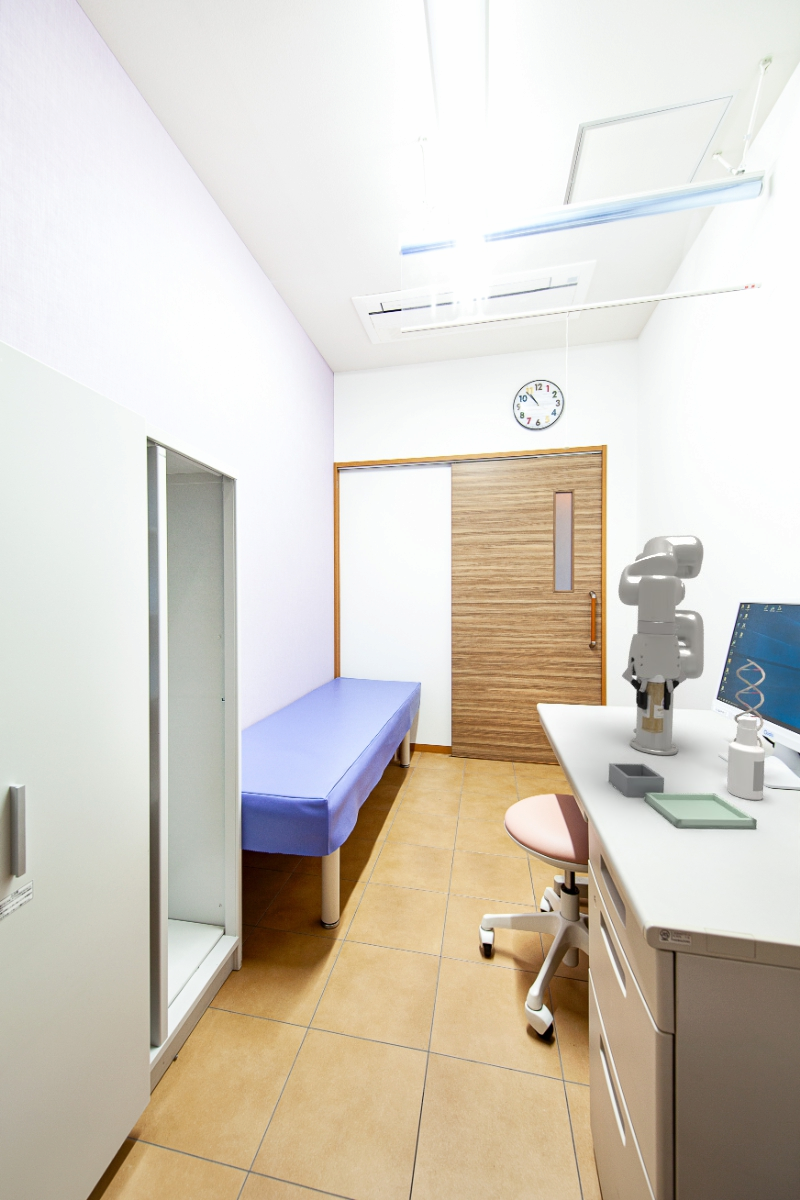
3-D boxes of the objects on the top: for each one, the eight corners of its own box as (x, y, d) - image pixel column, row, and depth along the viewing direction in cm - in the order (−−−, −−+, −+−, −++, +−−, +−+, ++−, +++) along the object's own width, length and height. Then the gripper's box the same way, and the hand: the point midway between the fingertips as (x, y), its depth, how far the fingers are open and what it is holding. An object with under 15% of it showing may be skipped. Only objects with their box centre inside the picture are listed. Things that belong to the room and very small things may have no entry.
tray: (644, 800, 105) (644, 792, 105) (714, 801, 105) (714, 793, 105) (677, 828, 93) (677, 819, 93) (756, 828, 93) (756, 820, 93)
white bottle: (769, 802, 105) (772, 723, 105) (735, 798, 106) (738, 720, 106) (753, 789, 112) (756, 715, 111) (721, 786, 113) (724, 713, 113)
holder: (608, 781, 115) (609, 763, 115) (643, 781, 115) (643, 763, 115) (626, 797, 106) (626, 777, 106) (663, 797, 106) (664, 778, 106)
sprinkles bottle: (664, 734, 104) (666, 675, 104) (641, 732, 106) (643, 673, 106) (662, 729, 108) (664, 671, 108) (640, 726, 110) (642, 670, 110)
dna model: (766, 782, 116) (771, 663, 115) (736, 778, 118) (740, 661, 118) (756, 773, 122) (761, 659, 122) (727, 769, 125) (732, 657, 124)
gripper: (682, 628, 110) (680, 705, 111) (611, 627, 110) (609, 703, 111) (703, 631, 103) (700, 713, 103) (626, 629, 103) (624, 711, 103)
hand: (653, 707), depth 107 cm, fingers closed on sprinkles bottle, 4 cm apart
